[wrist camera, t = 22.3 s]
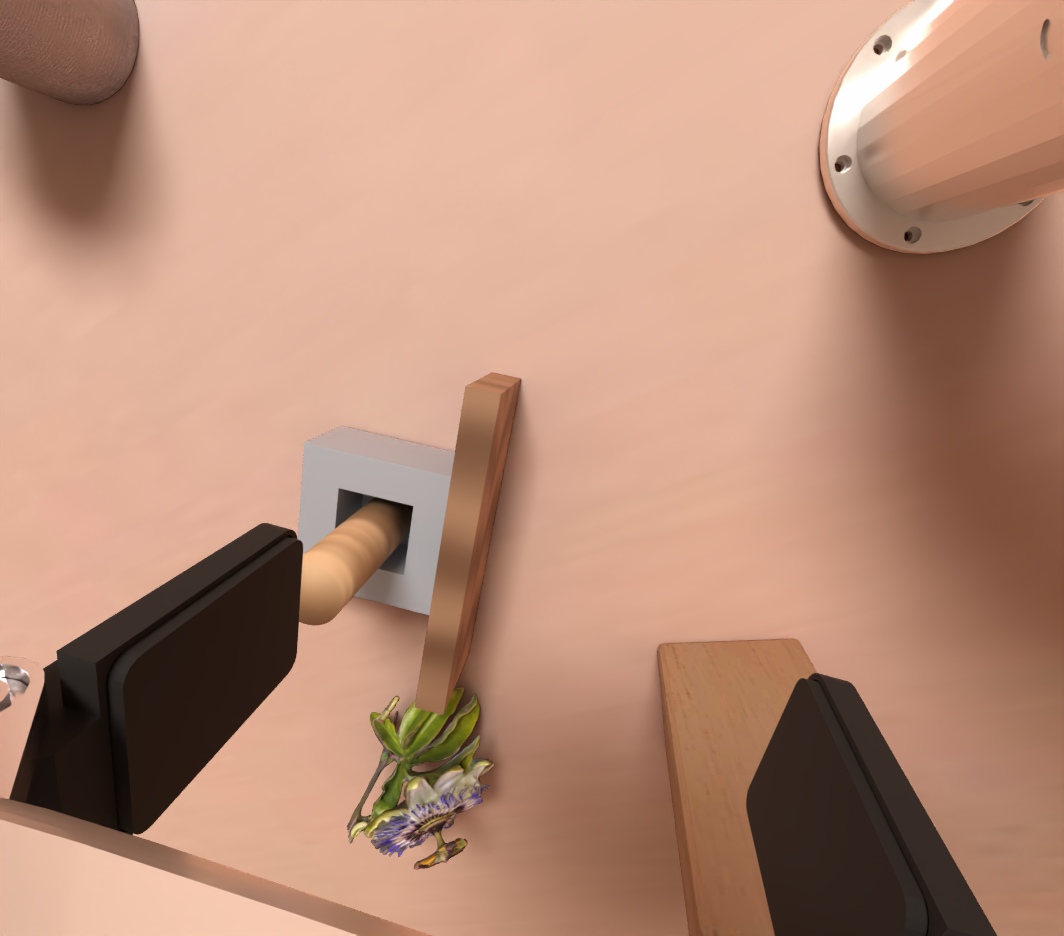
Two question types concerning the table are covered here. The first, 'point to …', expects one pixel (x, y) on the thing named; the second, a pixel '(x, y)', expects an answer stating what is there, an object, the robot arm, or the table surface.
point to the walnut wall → (466, 534)
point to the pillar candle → (68, 46)
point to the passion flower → (423, 779)
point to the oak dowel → (350, 558)
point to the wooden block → (722, 769)
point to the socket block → (389, 473)
